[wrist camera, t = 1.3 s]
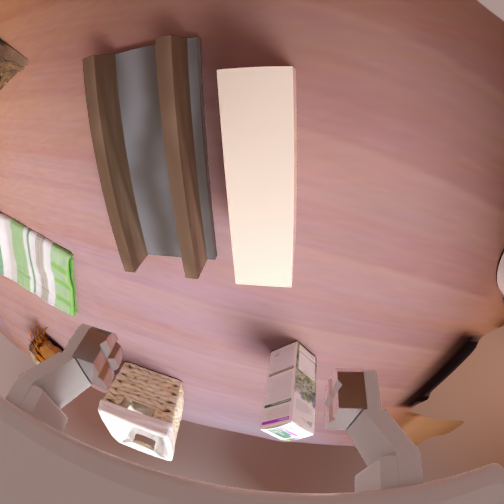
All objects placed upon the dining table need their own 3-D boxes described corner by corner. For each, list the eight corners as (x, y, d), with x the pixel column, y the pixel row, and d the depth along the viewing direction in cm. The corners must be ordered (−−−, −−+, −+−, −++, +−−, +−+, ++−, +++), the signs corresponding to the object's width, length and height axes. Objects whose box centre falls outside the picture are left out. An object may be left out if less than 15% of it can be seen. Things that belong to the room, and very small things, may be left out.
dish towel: (-4, 205, 41) (-16, 214, 38) (75, 248, 43) (63, 261, 40) (8, 267, 51) (-1, 276, 48) (80, 311, 53) (71, 323, 50)
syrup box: (269, 351, 47) (256, 430, 35) (298, 339, 45) (291, 423, 33) (290, 367, 49) (281, 442, 37) (318, 356, 46) (315, 436, 35)
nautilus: (25, 308, 58) (68, 326, 59) (47, 358, 70) (86, 375, 70) (9, 328, 52) (52, 349, 52) (35, 376, 63) (75, 396, 63)
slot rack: (200, 37, 23) (181, 32, 19) (217, 255, 38) (206, 279, 34) (102, 59, 25) (75, 61, 21) (135, 249, 40) (118, 270, 36)
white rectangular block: (295, 70, 24) (292, 66, 16) (295, 230, 34) (291, 287, 26) (244, 71, 25) (216, 69, 17) (253, 229, 35) (235, 283, 27)
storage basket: (120, 354, 58) (92, 408, 45) (190, 378, 57) (169, 439, 45) (132, 398, 71) (114, 441, 59) (186, 417, 71) (172, 463, 59)
